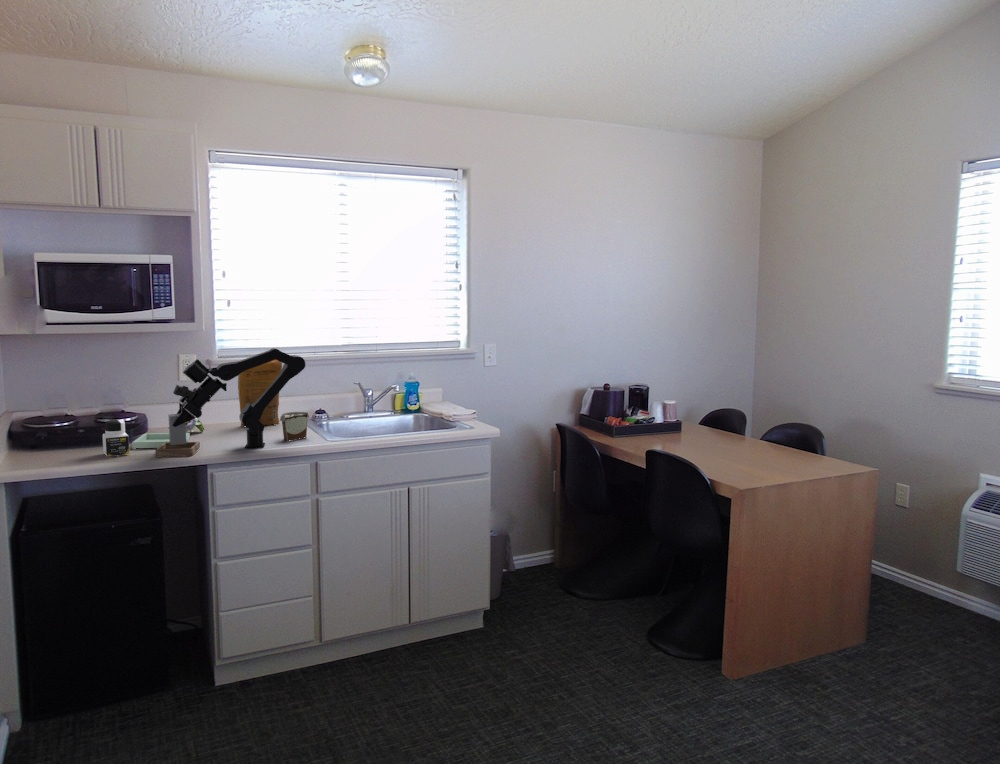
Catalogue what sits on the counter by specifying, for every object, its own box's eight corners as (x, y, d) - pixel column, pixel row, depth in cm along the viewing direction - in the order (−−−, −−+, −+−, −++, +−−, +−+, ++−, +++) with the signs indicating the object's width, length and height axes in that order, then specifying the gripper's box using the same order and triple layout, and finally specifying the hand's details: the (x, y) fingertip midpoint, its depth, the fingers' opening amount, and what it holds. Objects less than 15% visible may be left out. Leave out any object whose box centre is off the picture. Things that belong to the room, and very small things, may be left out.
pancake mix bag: (285, 425, 314) (284, 360, 310) (240, 428, 303) (238, 361, 300) (281, 422, 319) (279, 358, 316) (236, 426, 309) (234, 360, 306)
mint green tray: (144, 440, 278) (144, 433, 277) (189, 439, 281) (189, 432, 281) (132, 449, 262) (132, 442, 262) (180, 448, 265) (179, 441, 265)
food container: (298, 435, 292) (298, 410, 291) (309, 437, 289) (308, 412, 288) (273, 440, 282) (273, 414, 281) (284, 442, 279) (283, 416, 277)
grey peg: (169, 442, 259) (168, 414, 258) (184, 441, 261) (183, 413, 260) (170, 445, 254) (169, 416, 253) (186, 443, 257) (185, 415, 256)
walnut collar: (164, 449, 263) (164, 442, 263) (199, 448, 265) (199, 441, 265) (155, 456, 251) (155, 449, 251) (192, 455, 254) (192, 448, 253)
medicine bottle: (106, 457, 249) (104, 423, 247) (103, 453, 255) (101, 419, 253) (129, 455, 253) (128, 421, 252) (126, 451, 259) (124, 418, 257)
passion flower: (185, 449, 289) (166, 427, 283) (181, 439, 298) (162, 417, 292) (210, 431, 292) (191, 409, 285) (206, 422, 301) (187, 400, 294)
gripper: (184, 373, 265) (152, 405, 261) (190, 379, 249) (155, 413, 245) (208, 394, 270) (177, 426, 266) (215, 401, 253) (182, 435, 249)
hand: (172, 424), depth 256 cm, fingers closed on grey peg, 5 cm apart
